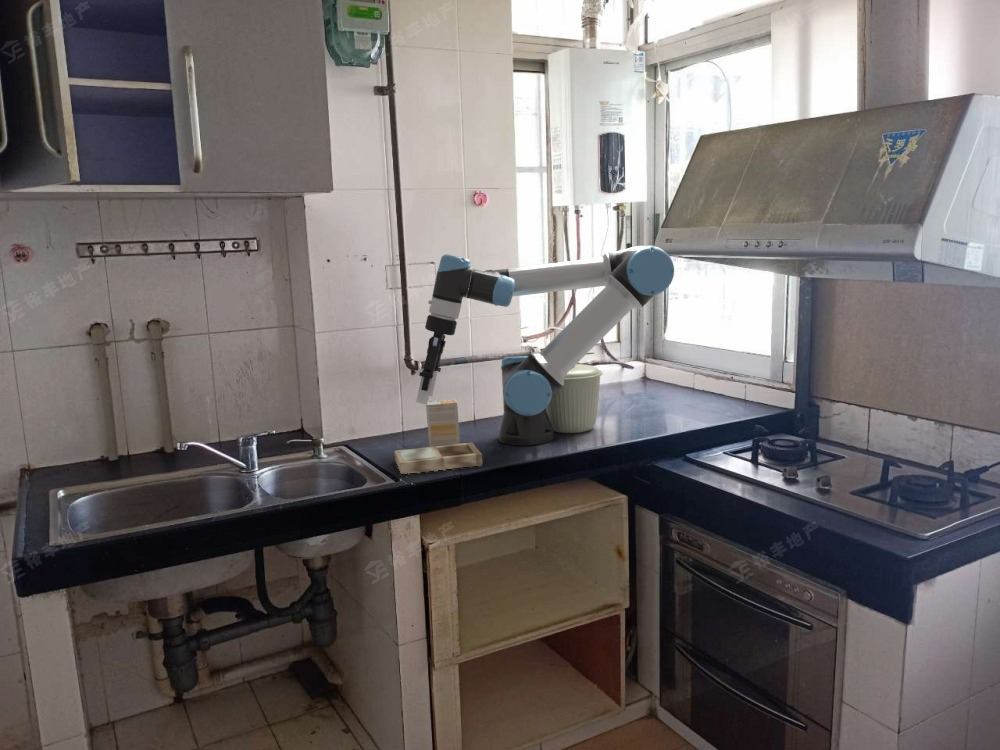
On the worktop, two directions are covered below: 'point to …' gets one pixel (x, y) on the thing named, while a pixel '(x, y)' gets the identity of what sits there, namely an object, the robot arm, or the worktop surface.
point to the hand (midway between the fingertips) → (424, 399)
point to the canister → (576, 401)
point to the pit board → (437, 458)
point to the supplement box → (442, 422)
